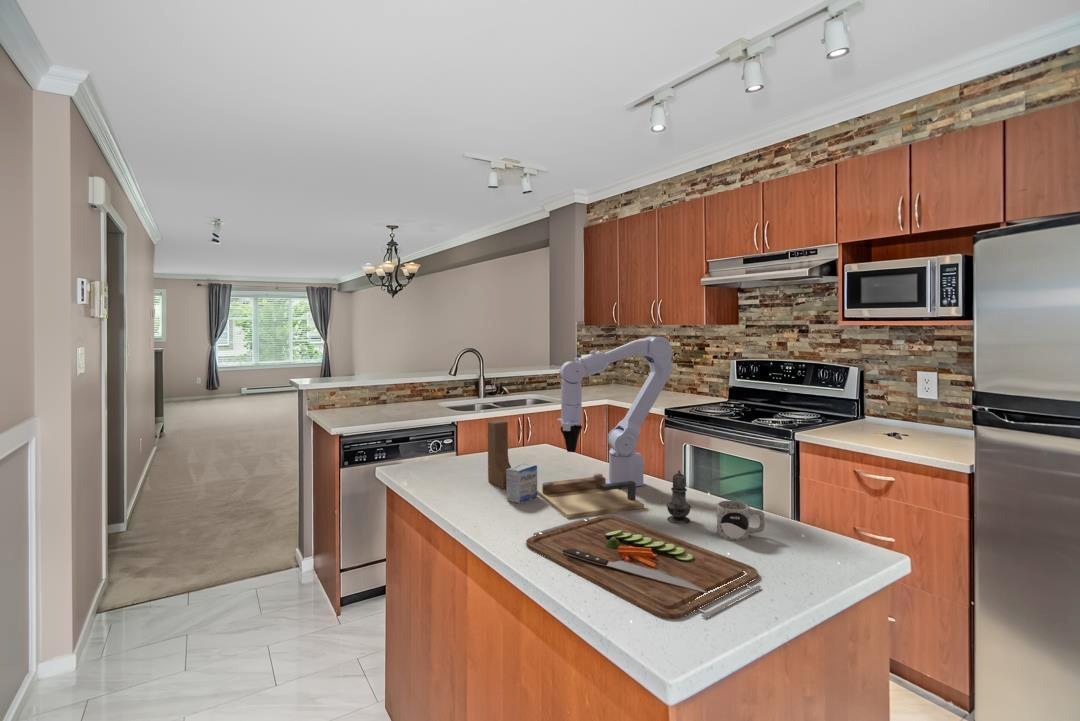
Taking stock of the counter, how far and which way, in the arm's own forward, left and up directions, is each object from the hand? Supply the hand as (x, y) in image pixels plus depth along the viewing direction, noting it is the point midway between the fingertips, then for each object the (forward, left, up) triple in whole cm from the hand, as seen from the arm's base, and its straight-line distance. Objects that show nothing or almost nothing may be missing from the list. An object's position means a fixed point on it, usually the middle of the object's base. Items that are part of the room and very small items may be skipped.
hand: (571, 451), depth 159 cm
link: (+2, +7, -9) cm, 11 cm away
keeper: (-5, +20, -10) cm, 23 cm away
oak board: (+1, +14, -10) cm, 17 cm away
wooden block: (+18, -9, -10) cm, 23 cm away
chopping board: (+8, +50, -11) cm, 51 cm away
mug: (-19, +48, -10) cm, 52 cm away
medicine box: (+17, +6, -10) cm, 20 cm away
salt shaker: (-12, +35, -10) cm, 38 cm away
